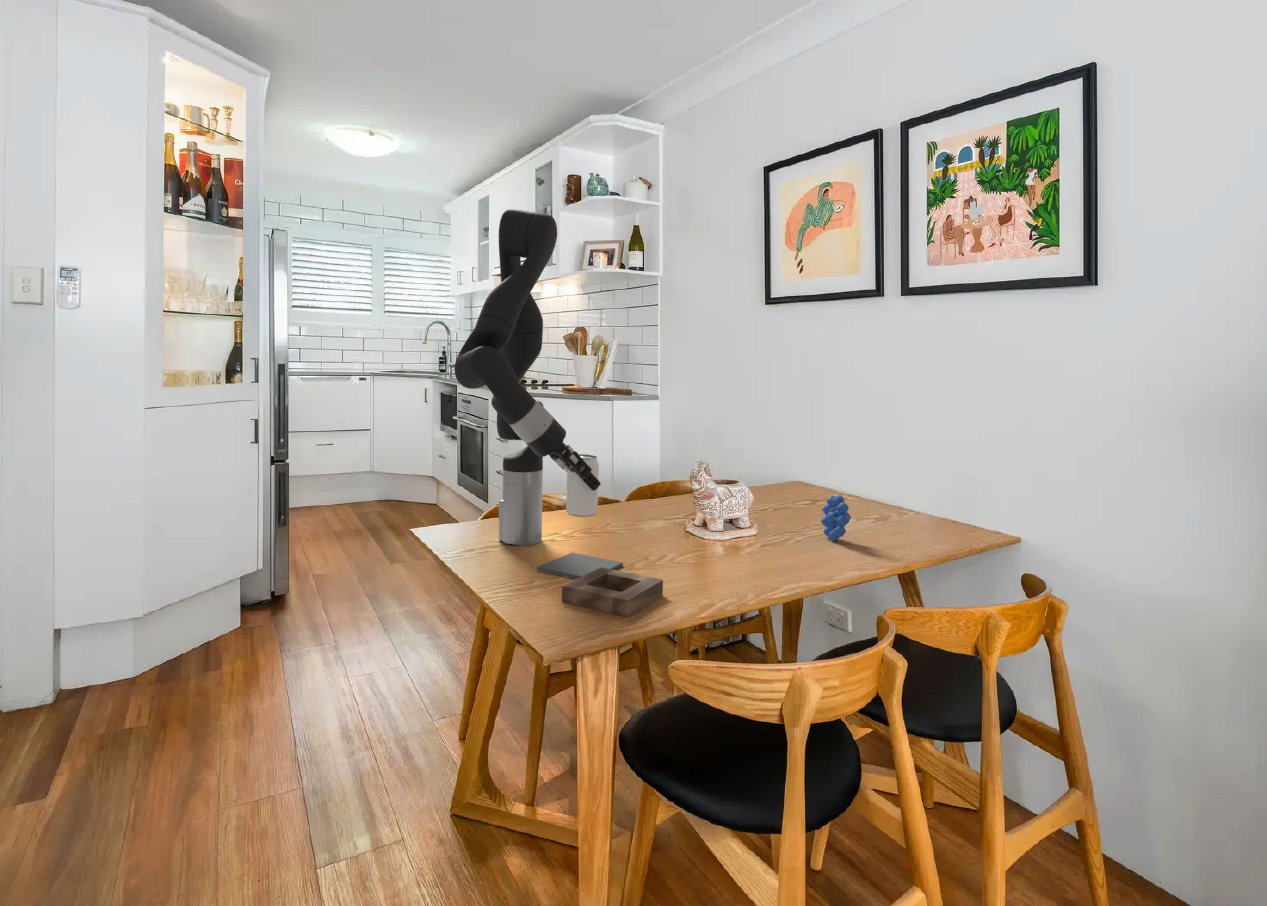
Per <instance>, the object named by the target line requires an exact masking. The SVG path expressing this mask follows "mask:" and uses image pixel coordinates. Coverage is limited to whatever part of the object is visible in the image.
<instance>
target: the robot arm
mask: <svg viewBox="0 0 1267 906" xmlns="http://www.w3.org/2000/svg"><path fill="white" fill-rule="evenodd" d="M557 226H558V225H557V222H556V219H555V218H554V217H553V216H552V215H550V214H547V213H545V212H537V211H532V210H525V209H524V210H523V209H519V208H508V209H507V208H506V210H504V211H503V213H502V214H501V217H500V220H499V225H498V253H499V255H498V256H499V270H500V273H499V274H500V283H499V284H498V285H496V286H495V288H494V289H492V290H491V292H490V293H489V294H488V296H487V297H486V299H485V300H484V303H483V305H482V307H481V311H480V313H479V315H478V317H477V321H476V324H475V327H474V329H473V330H472V331H471V333H470V334H469V336H468V338H467V339H466V340H465V343H464V344H463V345H462V347H461V349H460V351H459V353H458V355H457V356H456V360H455V363H454V376H455V378H456V380H457V382H458V383H459V384H460V386H462V387H464V388H466V389H469V390H473V389H475V390H476V389H479V388H483V387H487V388H488V390H489V391H490V393H491V394H492V398H491V406H492V408H493V409H494V411H495V412H496V431H497V434H498V436H499V438H500V439H501V440H505V441H523V442H524V443H525V444H526V445H527V446H525V447H524V448H522V449H520V450H518V451H516V452H512V453H510V454H507V455H506V456H504V457H503V460H502V499H500V500H499V501H498V540H499V541H501V540H502V542H503V543H504V544H507V545H510V544H513V545H512V546H532V544H533V545H537V544H539V543H542V540H543V537H542V536H543V533H542V532H543V485H544V483H543V480H544V479H543V478H544V477H543V471H544V465H543V463H544V461H543V460H544V457H547V456H549V457H550V459H551V460H552V461H554V462H555V463H556V464H557V466H558V467H560V468H561V469H562V470H563V471H564V470H565V472H566V473H567V470H568V471H569V472H571V473H573V472H574V473H575V474H576V475H577V476H578V477H579V478H580V479H582V480H583V481H584V482H585V483H586V484H587V485H588V486H589V487H590V488H591V489H592V490H594V491H595V490H596V489H597V488H598V489H599V487H600V486H601V481H600V480H599V478H598V479H597V478H596V477H595V476H594V475H593V474H592V473H591V471H592V469H591V468H590V467H589V466H588V465H587V464H586V463H585V461H584V460H583V459H582V458H581V457H580V456H579V455H578V454H579V453H578V452H577V451H575V450H574V449H573V448H572V447H571V446H570V445H569V444H566V443H564V440H566V439H565V438H566V436H567V431H566V429H565V428H564V427H563V426H562V425H561V424H560V423H559V421H557V420H556V418H554V416H553V415H552V414H551V413H550V412H549V410H547V409H546V408H545V406H544V404H543V402H542V401H540V400H536V399H535V398H534V396H532V395H531V394H530V393H529V391H528V390H527V389H526V388H525V387H524V386H523V385H522V384H521V381H522V378H523V377H524V376H525V375H526V373H527V372H528V371H529V369H530V368H531V367H532V366H533V364H534V363H535V362H536V360H537V358H538V357H539V355H540V353H541V351H542V347H543V334H544V319H543V316H542V313H541V311H540V308H539V306H538V304H537V302H536V301H535V298H534V296H533V295H532V293H531V292H532V290H533V289H534V287H535V285H536V284H537V282H538V280H539V279H540V277H541V275H542V273H543V272H544V269H546V267H547V264H548V262H549V261H550V258H551V257H552V254H553V253H554V250H555V246H556V244H557V238H558V227H557ZM521 258H522V259H523V258H524V259H525V260H524V261H523V263H522V262H521ZM570 466H571V467H572V468H570ZM582 467H583V468H584V470H583V471H582V472H580V469H581V468H582Z"/></svg>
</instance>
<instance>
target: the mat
mask: <svg viewBox="0 0 1267 906" xmlns="http://www.w3.org/2000/svg"><path fill="white" fill-rule="evenodd" d="M623 566H624V562H622V561H618V560H613V559H608V558H607V559H606V558H603V557H597V556H592V555H588V554H587V555H586V554H581V553H577V552H570V553H567V554H565V555H562V556H560V557H558V558H555V559H552V560H550V561H547V562H545V563H543V564H540V565H538V566H536V571H537V570H538V572H541V571H542V572H541V573H546V574H550V573H551V574H550V575H557V576H560V575H561V576H560V577H565V578H570V579H573V580H575V579H578V578H580V577H582V576H584V575H586V574H588V573H590V572H592V571H595V570H597V569H599V568H601V567H603V568H608V569H612V570H618V569H619V568H622V567H623Z"/></svg>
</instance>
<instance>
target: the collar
mask: <svg viewBox="0 0 1267 906" xmlns="http://www.w3.org/2000/svg"><path fill="white" fill-rule="evenodd" d="M561 589H562V590H561V602H562V603H567V604H571V605H574V606H579V607H583V608H587V609H588V608H589V609H592V610H596V611H600V612H605V613H609V614H614V615H618V616H623V617H626V618H627V617H629V616H631V615H632V614H634V613H636V612H638V611H639V610H641V609H642V608H644V607H645V606H647V605H649V604H651V603H652V602H654V601H656V600H657V599H659V598H661V597H662V596H663V594H664V593H663V590H664V580H663V579H661V578H656V577H651V576H647V575H641V574H636V573H632V572H628V571H627V572H626V571H622V570H618V569H616V570H612V569H608V568H603V567H601V568H599V569H597V570H595V571H592V572H590V573H588V574H586V575H584V576H582V577H580V578H578V579H573V580H571V581H569V582H567V583H565V584H563V585H561Z"/></svg>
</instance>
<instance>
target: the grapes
mask: <svg viewBox="0 0 1267 906" xmlns="http://www.w3.org/2000/svg"><path fill="white" fill-rule="evenodd" d="M845 500H846V499H844V497H843V496H842V495H841V494H837V495H831V496H830V497H828V499H827V500H826V504H825V505H824V506H823V508H822V509H821V510H822V513H823V514H824V516H823V517H822V519H821V520H820V521H821V525H822V526H823V527H825V528H824V529H823V531H822V532H823V534H824V535H825V537H827V538H828V539H829V540H831V541H832V542H836V541H838V540H839V539H840V538H842V537H843V536H844V535H845V534H846V532H847V530H846V528H845V527H846V526H847V525H848V524H849V523H850V520H851V518H852V517H851V515H850V513H849V512H848V511H849V509H850V507H849V505H848V504H847V503H846V501H845Z"/></svg>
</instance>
